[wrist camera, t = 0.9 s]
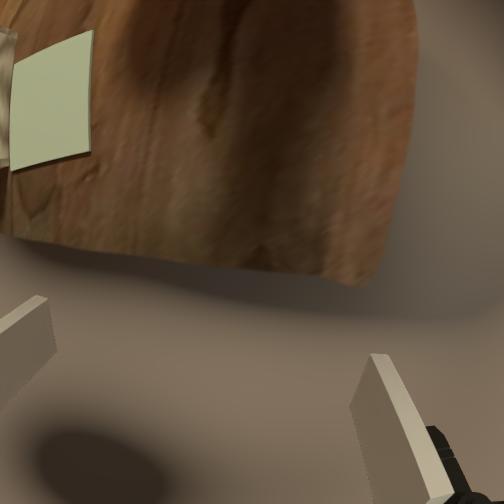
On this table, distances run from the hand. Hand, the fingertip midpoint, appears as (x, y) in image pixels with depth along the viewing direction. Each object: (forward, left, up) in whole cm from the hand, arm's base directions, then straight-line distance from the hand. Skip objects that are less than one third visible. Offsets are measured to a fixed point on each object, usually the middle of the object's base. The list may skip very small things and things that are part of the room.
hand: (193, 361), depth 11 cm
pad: (-20, -28, -27) cm, 43 cm away
